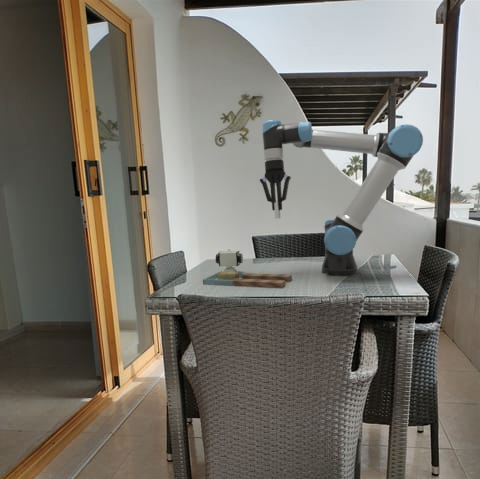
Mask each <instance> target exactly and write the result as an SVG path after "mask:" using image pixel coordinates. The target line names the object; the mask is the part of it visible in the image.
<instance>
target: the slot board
mask: <svg viewBox="0 0 480 479" xmlns="http://www.w3.org/2000/svg"><path fill="white" fill-rule="evenodd" d="M244 273H245V274H243V275H242V278H239V279H237V278H236V279H235V280H233V281H232V284H233V286H232V287H244V288H245V287H247V288H248V287H249V288H264V289H265V288H267V289H284V288H285V287H286V285H288V284H289V283H290V282H291V281H292V279H293V278H292V276H293V275H292V274H285V273H284V274H281V273H255V272H249V273H248V272H244Z"/></svg>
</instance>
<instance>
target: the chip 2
mask: <svg viewBox="0 0 480 479" xmlns="http://www.w3.org/2000/svg"><path fill="white" fill-rule="evenodd" d="M239 273H240V271H239V272H238V271H236V272H228V273H226V280H235V279H236V278H237V279H240V278H239Z"/></svg>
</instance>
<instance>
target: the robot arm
mask: <svg viewBox="0 0 480 479" xmlns="http://www.w3.org/2000/svg"><path fill="white" fill-rule="evenodd" d="M423 137H424V136H423V134H422V132H421V130H420V129H419V128H418V127H417V126H415V125H412V124H408V123H407V124H401V125H398V126H396V127H394V128H393V129H392V130H391V131H390V132H378V133H376V134H368V133H367V134H365V133H358V132H357V133H355V132H346V131H345V132H344V131H335V130H334V131H333V130H321V129H313V127H312V122H311V121H300V122H294V123H293V122H292V123H287V124H282V121H281V120H280V119H270V120H265V121H264V122H263V123H262V139H263V140H262V141H263V142H262V143H263V154H264V155H263V157H264V161H265V162H264V168H265V169H264V170H265V173H264V176H263V177H262V178H260V179H259V182H260V184H262V187H263V191H264V194H265V198H266V201H267V202H270V203H271V207H272V208H271V210H272V211H274V218H275V219H277V220H278V219H281V211H282V210H283V202H284V201H286V200H287V195H288V190H289V183H290V182H291V179H292V176H289V175H288V174H286V172H285V167H284V166H285V165H284V163H285V162H284V160H283V159H284V150H283V145H288V144H292V145H293V146H294V147H296V148H300V149H301V148H310V149H319V150H320V149H321V150H330V151H339V152H351V153H358V154H367V155H368V154H369V155H372V157H373V158H377V160H376V161H375V164H374V165H373V167H371V169H370V171H369V172H368V174H367V176H366V177H365V179H364V180H363V182H362V184H361V185H360V186H359V188H358V190H357V191H356V193H355V194H354V196H353V197H352V199H351V201H350V202H349V204H348V205H347V206H346V208H345V210H344V211H343V212H342V213H341V214H336V217H335V218H334V219H329V220H325V222H324V228H323V229H324V236H323V243H324V246H325V247H324V248H325V250H324V251H325V254H324V259H323V262H322V265H321V273H322V274H325V275H328V276H352V275H355V274H358V265H357V263H356V259H355V257H354V248H355V246H356V243H357V241H358V240H359V238H360V237H361V235H362V233H363V232H364V228H363V225H364V223H365V222H366V220H367V219H368V217H369V216H370V214H371V213H372V211H373V210H374V208H375V206H376V205H377V204H378V202H379V201H380V199H381V197H382V196H383V195H384V193H385V192H386V190H387V188H389V186H390V184H391V182H392V181H393V180H394V178H395V176H396V175H397V174H398V172H399V171H401V170H404V169H406V168H407V166H408V164H409V163H410V162H411V160H412V159H413V158H414V156H415V155H417V153H419V151H421V149H422V146H423V142H424V138H423ZM283 180H284V184H283V189H282V181H283ZM267 181H268V183H269V185H270V190H269V187H268V183H267ZM276 194H277V196H276Z"/></svg>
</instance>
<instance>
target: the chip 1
mask: <svg viewBox="0 0 480 479" xmlns="http://www.w3.org/2000/svg"><path fill="white" fill-rule="evenodd" d="M218 272H219V273H218ZM218 272H216V273H217V278H216V280H226V273H228V272H224V271H218Z"/></svg>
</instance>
